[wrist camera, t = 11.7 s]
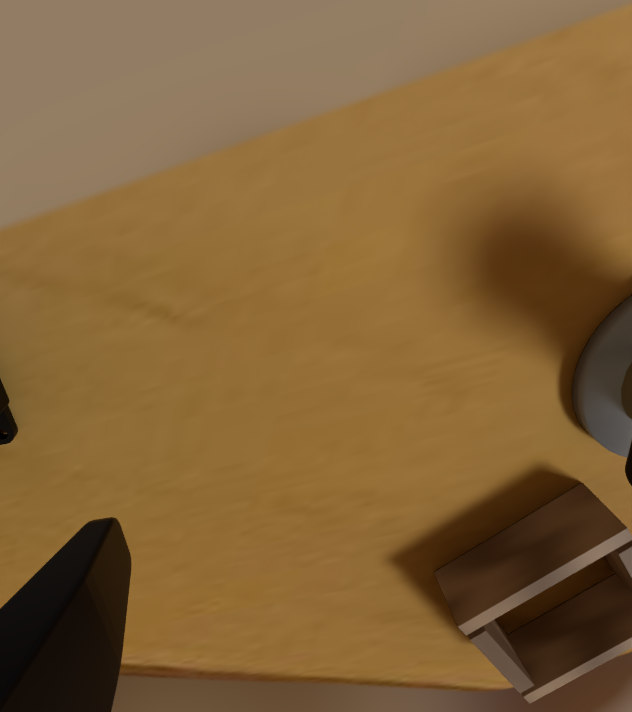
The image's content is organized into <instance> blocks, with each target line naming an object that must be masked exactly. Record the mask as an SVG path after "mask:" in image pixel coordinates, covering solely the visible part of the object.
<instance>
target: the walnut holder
mask: <svg viewBox="0 0 632 712" xmlns="http://www.w3.org/2000/svg"><path fill="white" fill-rule="evenodd" d="M603 556H605V558H606V560H607V561H608V563H609V565H610V566H611V568H612V570H613V571H614V572H615V573H616V574H614V575H612V576H610V577H609V578H607V579H605V580H603V581H602V582H600V583H598V584H596V585H595V586H593V587H591V588H589V589H588V590H586V591H584V592H582V593H581V594H579V595H577V596H575V597H574V598H572V599H570V600H568V601H567V602H565V603H563V604H561V605H560V606H558V607H556V608H554V609H553V610H551V611H549V612H547V613H546V614H544V615H542V616H540V617H539V618H537V619H535V620H533V621H532V622H530V623H528V624H526V625H525V626H523V627H521V628H519V629H518V630H516V631H514V632H512V633H511V634H509V635H507V633H506V631H505V630H504V629H503V628H502V627H501V626H500V624H499V623H498V622H497V621H496V620H495V619H496V618H498V617H499V616H501V615H503V614H504V613H506V612H508V611H510V610H511V609H513V608H515V607H517V606H518V605H520V604H522V603H523V602H525V601H527V600H529V599H530V598H532V597H534V596H536V595H537V594H539V593H541V592H543V591H544V590H546V589H548V588H549V587H551V586H553V585H555V584H556V583H558V582H560V581H562V580H563V579H565V578H567V577H568V576H570V575H572V574H574V573H575V572H577V571H579V570H581V569H582V568H584V567H586V566H587V565H589V564H591V563H593V562H594V561H596V560H598V559H600V558H601V557H603ZM434 574H435V577H436V579H437V581H438V583H439V586H440V588H441V590H442V592H443V595H444V597H445V599H446V601H447V603H448V606H449V608H450V610H451V612H452V615H453V617H454V619H455V621H456V624H457V626H458V627H459V629H460V630H461V631H462V632H463V633H464V634H465V635H468V636H469V639H470V640H471V641H472V642H473V644H474V645H475V646H476V647H477V648H478V649H479V650H480V651H481V652H482V653H483V654H484V655H485V656H486V657H487V658H488V660H489V661H490V662H491V663H492V664H493V665H494V666H495V667H496V668H497V669H498V670H499V671H500V672H501V673H502V675H503V676H504V677H505V678H506V679H507V680H508V681H509V682H510V683H511V684H512V685H513V686H514V687H515V688H516V690H517V691H518V692H519V693H522V695H523V697H524V698H525V699H526V700H527V701H528V702H529V703H531V702H533V701H535V700H537V699H539V698H540V697H542V696H544V695H546V694H548V693H550V692H551V691H553V690H555V689H557V688H559V687H561V686H563V685H564V684H566V683H568V682H570V681H572V680H573V679H575V678H577V677H579V676H581V675H583V674H585V673H586V672H588V671H590V670H592V669H594V668H596V667H597V666H599V665H601V664H603V663H605V662H606V661H608V660H610V659H612V658H614V657H616V656H618V655H619V654H621V653H623V652H625V651H627V650H629V649H630V648H632V536H631V534H630V532H629V530H628V528H627V527H626V526H625V525H624V524H623V523H622V522H621V521H620V520H619V519H618V518H617V517H616V516H615V515H614V514H613V513H612V512H611V511H610V510H609V509H608V508H607V507H606V506H605V505H604V504H603V503H602V502H601V501H600V500H599V499H598V498H597V497H596V496H595V495H594V494H593V493H592V492H591V491H590V490H589V489H588V488H587V487H586V486H585V485H584V484H583V483H581V484H579V485H578V486H576V487H574V488H573V489H571V490H569V491H568V492H566V493H564V494H563V495H561V496H559V497H558V498H556V499H554V500H553V501H551V502H550V503H548V504H546V505H545V506H543V507H541V508H540V509H538V510H536V511H535V512H533V513H531V514H530V515H528V516H526V517H525V518H523V519H521V520H520V521H518V522H516V523H515V524H513V525H511V526H510V527H508V528H507V529H505V530H503V531H502V532H500V533H498V534H497V535H495V536H493V537H492V538H490V539H488V540H487V541H485V542H483V543H482V544H480V545H478V546H477V547H475V548H473V549H472V550H470V551H468V552H467V553H465V554H464V555H462V556H460V557H459V558H457V559H455V560H454V561H452V562H450V563H449V564H447V565H445V566H444V567H442V568H440V569H439V570H437V571H435V572H434Z"/></svg>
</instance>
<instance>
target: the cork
mask: <svg viewBox="0 0 632 712" xmlns="http://www.w3.org/2000/svg"><path fill="white" fill-rule="evenodd" d="M621 398H622V406H623V408H624V410H625V412H626V414H627V416H628V417H629V418H631V419H632V363H631V364H630V366H629V368H628V369H627V371H626V374H625V377H624V381H623V384H622V387H621Z"/></svg>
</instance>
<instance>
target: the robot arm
mask: <svg viewBox="0 0 632 712" xmlns="http://www.w3.org/2000/svg"><path fill="white" fill-rule="evenodd" d="M8 403H9V398H8V396H7V394H6V391H5V389H4V386H3V384H2V382H1V379H0V429H2V430H5V431H6V432H7V434H3V433H1V432H0V445H3V444H7V443H10V442H11V441H12V440H13V439H14V438H15V436H16V435H17V432H18V428H17V425H16V423H15V421H14V418H13V416H12V413H11V411H10V409H9V406H8ZM625 473H626V477H627V479H628V481H629V483H630V484H631V486H632V440H631V445H630V449H629V453H628V457H627V461H626V465H625ZM130 576H131V556H130V552H129V549H128V546H127V543H126V540H125V537H124V534H123V531H122V528H121V526H120V523H119V521H118V520H117V519H116V518H113V517H110V518H104V519H98V520H93V521H90V522H88V523H87V524H85V525H84V526H83V527H82V528H81V529H80V530H79V531H78V532H77V533H76V534H75V535H74V536H73V537H72V538H71V539H70V540H69V541H68V542H67V543H66V544H65V545H64V546H63V547H62V548H61V549H60V550H59V551H58V552H57V553H56V554H55V555H54V556H53V557H52V558H51V559H50V560H49V561H48V562H47V563H46V564H45V565H44V566H43V567H42V568H41V569H40V570H39V571H38V572H37V573H36V574H35V575H34V576H33V577H32V578H31V579H30V580H29V581H28V582H27V583H26V584H25V585H24V586H23V587H22V588H21V589H20V590H19V591H18V592H17V593H16V594H15V595H14V596H13V597H12V598H11V599H10V600H9V601H8V602H7V603H6V604H5V605H4V606H3V607H2V608H1V609H0V712H111V710H112V705H113V701H114V696H115V691H116V687H117V681H118V677H119V671H120V666H121V658H122V651H123V642H124V632H125V623H126V613H127V604H128V595H129V585H130Z"/></svg>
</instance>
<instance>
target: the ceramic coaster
mask: <svg viewBox="0 0 632 712" xmlns="http://www.w3.org/2000/svg"><path fill="white" fill-rule="evenodd" d="M631 363H632V295H631V296H630V297H629V298H627V299H626V300H624V301H623V302H622V303H621V304H620V305H619V306H618V307H616V308H615V309H614V310H613V311H612V312H611V313H610V314H609V315H608V316H607V317H606V318H605V320H604V321H603V322H602V323H601V324H600V326H599V327H598V328H597V329H596V331H595V332H594V333H593V335H592V337H591V338H590V340H589V341H588V343H587V344H586V346H585V348H584V350H583V352H582V354H581V356H580V359H579V362H578V365H577V367H576V371H575V375H574V379H573V388H572V399H573V406H574V411H575V414H576V416H577V419H578V421H579V422H580V424H581V426H582V427H583V428H584V429H585V431H586V432H587V433H588V434H589V435H590V436H592V437H593V438H594V439H595V440H596V441H597V442H599V443H600V444H601V445H602V446H604V447H605V448H606V449H608V450H609V451H611V452H613V453H615V454H618V455H621V456H624V457H628V453H629V449H630V445H631V440H632V419H631V418H629V417H628V416H627V414H626V412H625V410H624V408H623V406H622V398H621V387H622V384H623V381H624V377H625V374H626V371H627V369H628V368H629V366H630V364H631Z"/></svg>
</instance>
